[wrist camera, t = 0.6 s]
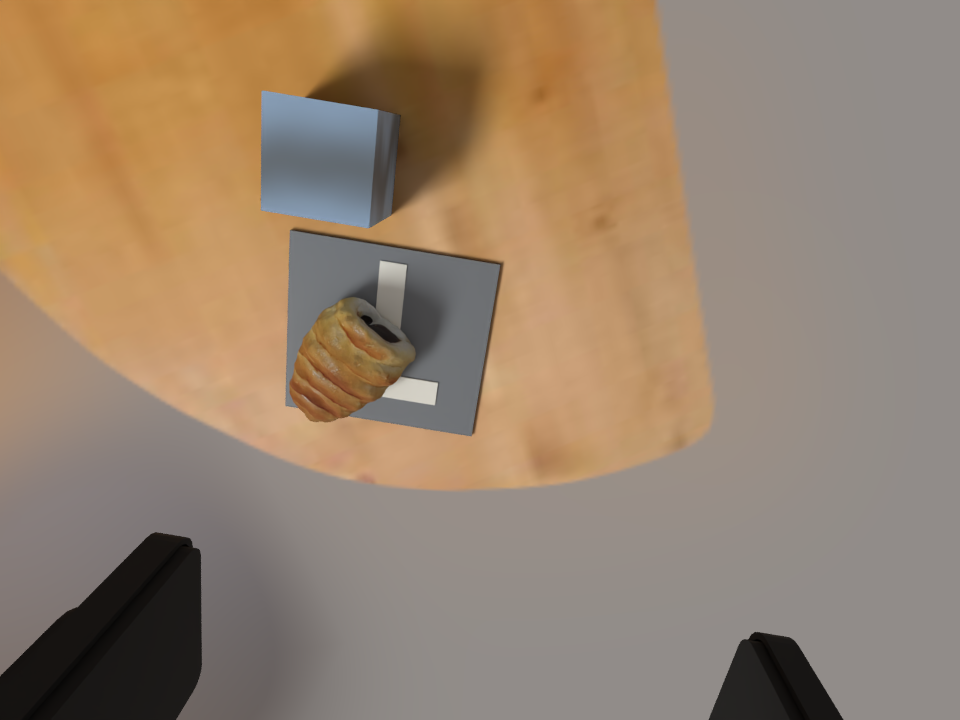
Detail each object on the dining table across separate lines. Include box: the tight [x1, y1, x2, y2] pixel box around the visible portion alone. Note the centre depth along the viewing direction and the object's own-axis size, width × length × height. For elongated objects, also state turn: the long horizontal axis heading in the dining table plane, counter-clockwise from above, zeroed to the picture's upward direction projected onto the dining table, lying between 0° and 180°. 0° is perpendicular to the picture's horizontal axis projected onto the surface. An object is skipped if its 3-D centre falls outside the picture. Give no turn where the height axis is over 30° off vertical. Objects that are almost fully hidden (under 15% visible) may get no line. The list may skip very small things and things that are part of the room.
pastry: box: [289, 297, 416, 422], centre depth 38 cm, size 9×7×4 cm
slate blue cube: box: [261, 91, 400, 228], centre depth 32 cm, size 6×6×6 cm
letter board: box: [286, 230, 500, 436], centre depth 39 cm, size 13×14×1 cm
